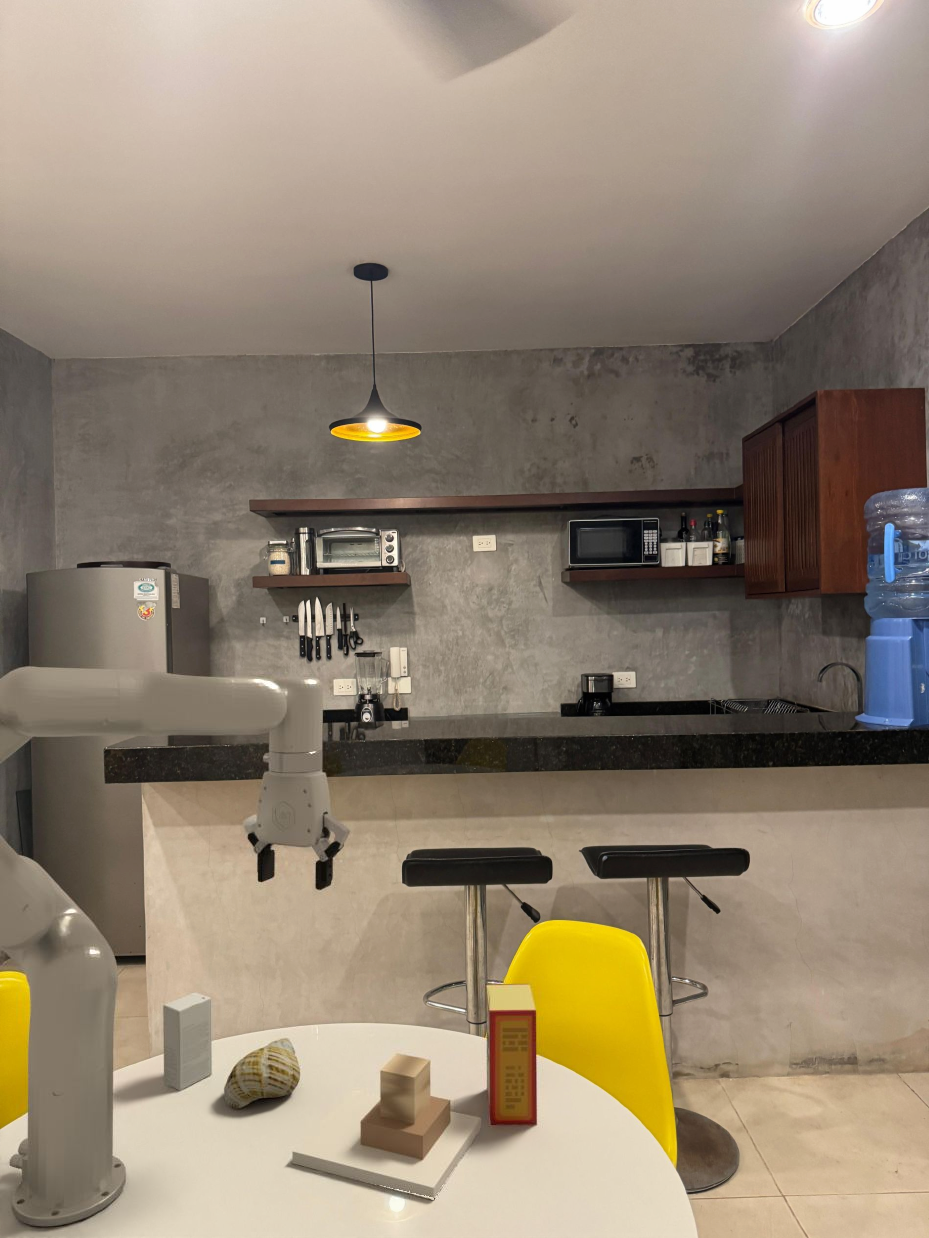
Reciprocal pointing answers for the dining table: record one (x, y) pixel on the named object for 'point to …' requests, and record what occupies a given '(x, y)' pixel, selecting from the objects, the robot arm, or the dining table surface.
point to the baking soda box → (511, 1054)
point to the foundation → (389, 1144)
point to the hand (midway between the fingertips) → (294, 883)
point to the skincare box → (187, 1040)
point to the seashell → (263, 1074)
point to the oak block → (405, 1088)
